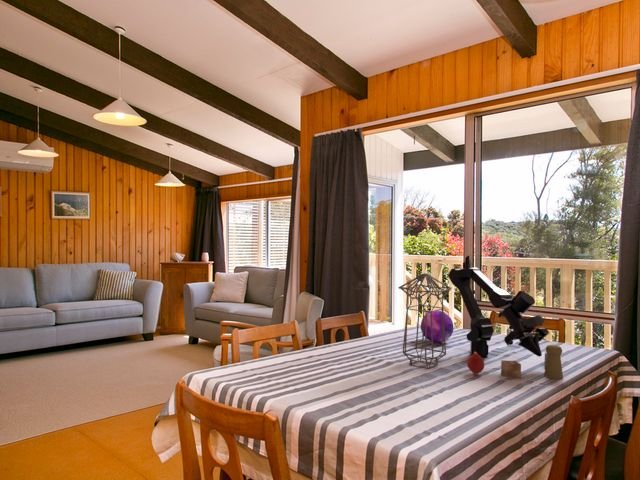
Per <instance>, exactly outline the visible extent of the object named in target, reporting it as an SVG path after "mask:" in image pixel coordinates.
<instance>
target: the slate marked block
mask: <svg viewBox="0 0 640 480" xmlns="http://www.w3.org/2000/svg"><path fill="white" fill-rule="evenodd" d="M546 360H547V353H546V350H544V367H545V366H546Z"/></svg>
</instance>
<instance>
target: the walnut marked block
mask: <svg viewBox="0 0 640 480" xmlns="http://www.w3.org/2000/svg"><path fill="white" fill-rule="evenodd" d="M500 361H501V362H500V375H502V377H504V378H505V377H506V378H505V379H517V380H518V379H522V364H521V363H520V362H518V361H516V360H505V359H503V360H500Z"/></svg>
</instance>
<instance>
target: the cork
mask: <svg viewBox="0 0 640 480" xmlns="http://www.w3.org/2000/svg"><path fill="white" fill-rule="evenodd" d="M545 351H546V353H547V360H546V366H545V365H544V373H543V377H546V378H549V379H553V380H562V379H564V375H563V374H564V373H563V365H562V359H561V355H563V349H562V347H561V346H560V345H557V344H548V345H546V347H545Z"/></svg>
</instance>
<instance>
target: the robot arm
mask: <svg viewBox="0 0 640 480" xmlns="http://www.w3.org/2000/svg"><path fill="white" fill-rule="evenodd" d="M448 278H449V280H450V282H451V284H452V285H453V286H454V287H456V289H457V290H458V292H459V294H460V296H461V298H462V301H463V303H464V306H465V308H466V311H467V312H468V315H469V318H470V331H468V333H467V334H466V340H467V341H469V342H470V350H469V355H470V356H471V355H473V354H474V352H477V354H478V355H479V356H481V357H482V358H488V356H489V344H488V342H490V341H491V339H492V336H493V334H494V325H493V323H492V319H490V317H485V316H484V315H483V313H482V311H481V308H480V306H479V303H478V301H477V300H476V297H475V294H474V293H473V290H472V288H471V286H470V285H471V280H472V281H473V282H474V283H475V285H477V286H478V287H479V289H481V290H482V291H483V292H484V293H485V294H486V295H487V298H488V301H489V302H490V303H491V305H492V306H493V307H494V308H496V309H499V308H501V310H499V311H498V318H500V319H501V318H505V320H506V322H507V323H508V324H509V327H508V328H509V330H511V331H510V332H508V333H507V334H506V335H505V337H504V342H505V344H506V345H507V346H512V345H513V344H514V341H515V340H519V343H518V345H517V346H519V347H522V348H524V349H525V350H527V351H529V352H531V353H533V355H535V356H537V357H542V355H543V354H542V350H541V347H540V343H539V342H541V341H542V340H544V339H545V338H546V337H547V336H548V335H549V334H550V331H549V330H548V328H546V327H539V326H543V325H544V322H545V318H543V317H542V315H540V314H537V315H534V316H533V317H529V318H528V317H523V315H522V314H525V313H526V312H527V311H528V310H530V308H532V306H533V305H535V303H536V300H535V298H534V297H533V296H532V295H530V294H529V293H527V292H526V291H524V290H519V291H518V292H517V293H516V295H515V296H512V294H511V293H509V292H508V291H506V290H504V289H502V288H499V287H498V286H496V285H495V284H494V282H492V281H491V280H490V279H489V278H488V277H487V276H486V275H485V274H484V273H482V271H481V270H480V268H478V267H468V268H467V267H466V268H452V269H450V270H449V273H448ZM502 308H504V309H502ZM536 327H539V328H536Z"/></svg>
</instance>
